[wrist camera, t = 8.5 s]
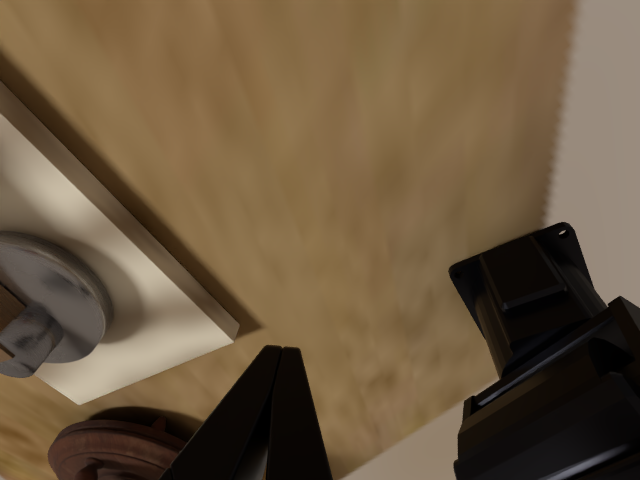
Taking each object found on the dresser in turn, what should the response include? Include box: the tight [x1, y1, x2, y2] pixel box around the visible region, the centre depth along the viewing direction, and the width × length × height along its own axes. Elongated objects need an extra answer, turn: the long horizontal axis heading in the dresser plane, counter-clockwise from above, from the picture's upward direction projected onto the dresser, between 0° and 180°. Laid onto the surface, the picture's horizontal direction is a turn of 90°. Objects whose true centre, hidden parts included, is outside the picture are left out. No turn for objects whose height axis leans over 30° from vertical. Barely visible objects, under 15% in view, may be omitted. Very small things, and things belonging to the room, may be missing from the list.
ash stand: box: [0, 81, 240, 405], centre depth 24 cm, size 22×16×2 cm
